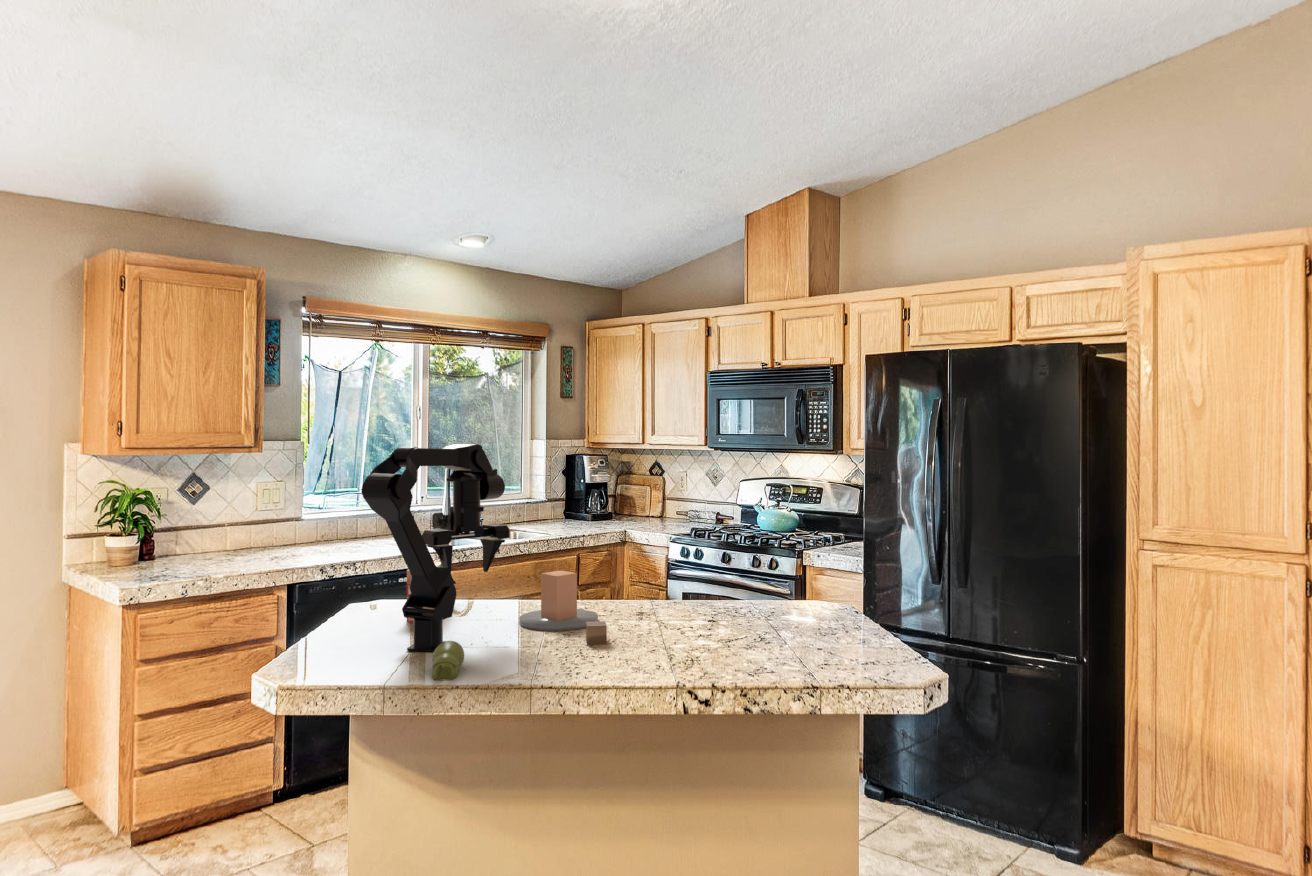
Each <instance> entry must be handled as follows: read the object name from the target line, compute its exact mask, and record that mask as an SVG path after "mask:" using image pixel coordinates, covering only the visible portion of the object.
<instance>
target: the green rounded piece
mask: <svg viewBox="0 0 1312 876" xmlns="http://www.w3.org/2000/svg"><path fill="white" fill-rule="evenodd" d="M445 641H446V640H445ZM431 660H432V673H431V676H432V678H433V680H434V679H445V681H448V680H454V679H455V678H457V676H458V675H459V668H460V667H462V665H463V663H464V660H465V650H464V647H462V645H461V644H460V643H459V642H457V641H455V640H447V641H446V642H443V643H441V644H440V645H439V646H438V647H437V648H436V649H435V651H433V653H432V659H431Z"/></svg>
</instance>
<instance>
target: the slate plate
mask: <svg viewBox="0 0 1312 876" xmlns="http://www.w3.org/2000/svg"><path fill="white" fill-rule="evenodd" d="M518 619H519V620H518V622H519V623H518V624H519V625H520V627H523V628H525V629H529V630H534V631H544V632H546V631H547V632H561V631H563V632H564V631H576V630H581V629H586V622H598V621H599V615H598V613H596V612H594V611H591V610H586V609H582V608H581V609H579V608H577V617H572V618H567V619H562V620H553V619H549V618H545V617H541V609H539V610H538V609H537V610H533V611H529V612H526V613H523V614H521V615H520V616H519V617H518Z"/></svg>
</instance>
